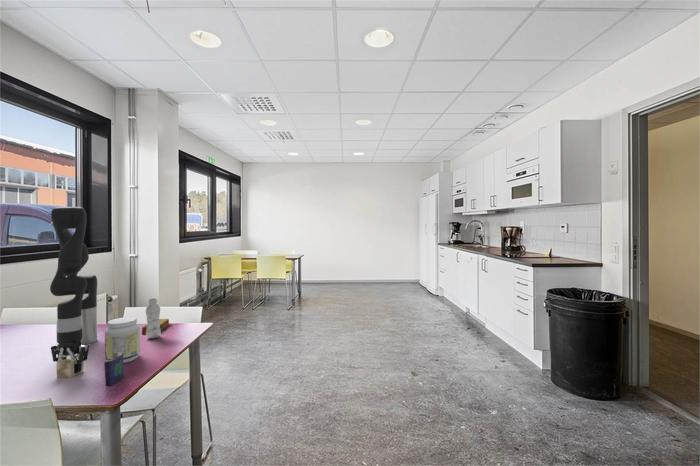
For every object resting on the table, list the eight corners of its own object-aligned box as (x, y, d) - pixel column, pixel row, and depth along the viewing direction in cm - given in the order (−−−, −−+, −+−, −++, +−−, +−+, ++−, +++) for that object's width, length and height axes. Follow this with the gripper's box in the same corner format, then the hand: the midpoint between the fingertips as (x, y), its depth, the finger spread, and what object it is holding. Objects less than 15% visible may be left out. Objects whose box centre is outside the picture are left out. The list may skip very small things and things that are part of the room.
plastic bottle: (154, 340, 161) (153, 300, 161) (142, 339, 163) (142, 300, 162) (164, 336, 168) (163, 298, 167) (152, 335, 169) (152, 297, 169)
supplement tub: (110, 356, 141) (109, 318, 141) (142, 352, 146) (142, 315, 146) (100, 367, 130) (100, 325, 130) (136, 362, 134) (135, 322, 134)
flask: (118, 375, 122) (117, 347, 122) (126, 375, 122) (126, 347, 122) (103, 387, 113) (102, 357, 113) (112, 386, 113) (111, 356, 113)
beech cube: (56, 377, 121) (56, 362, 121) (70, 370, 126) (70, 357, 126) (70, 377, 121) (69, 363, 121) (83, 371, 126) (83, 357, 126)
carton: (169, 325, 189) (169, 318, 189) (158, 334, 173) (158, 326, 173) (153, 326, 187) (153, 319, 187) (141, 335, 171) (141, 327, 171)
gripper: (42, 331, 120) (43, 376, 120) (77, 332, 119) (78, 377, 119) (62, 325, 128) (62, 367, 128) (95, 326, 127) (96, 368, 127)
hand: (70, 372), depth 124 cm, fingers closed on beech cube, 5 cm apart
